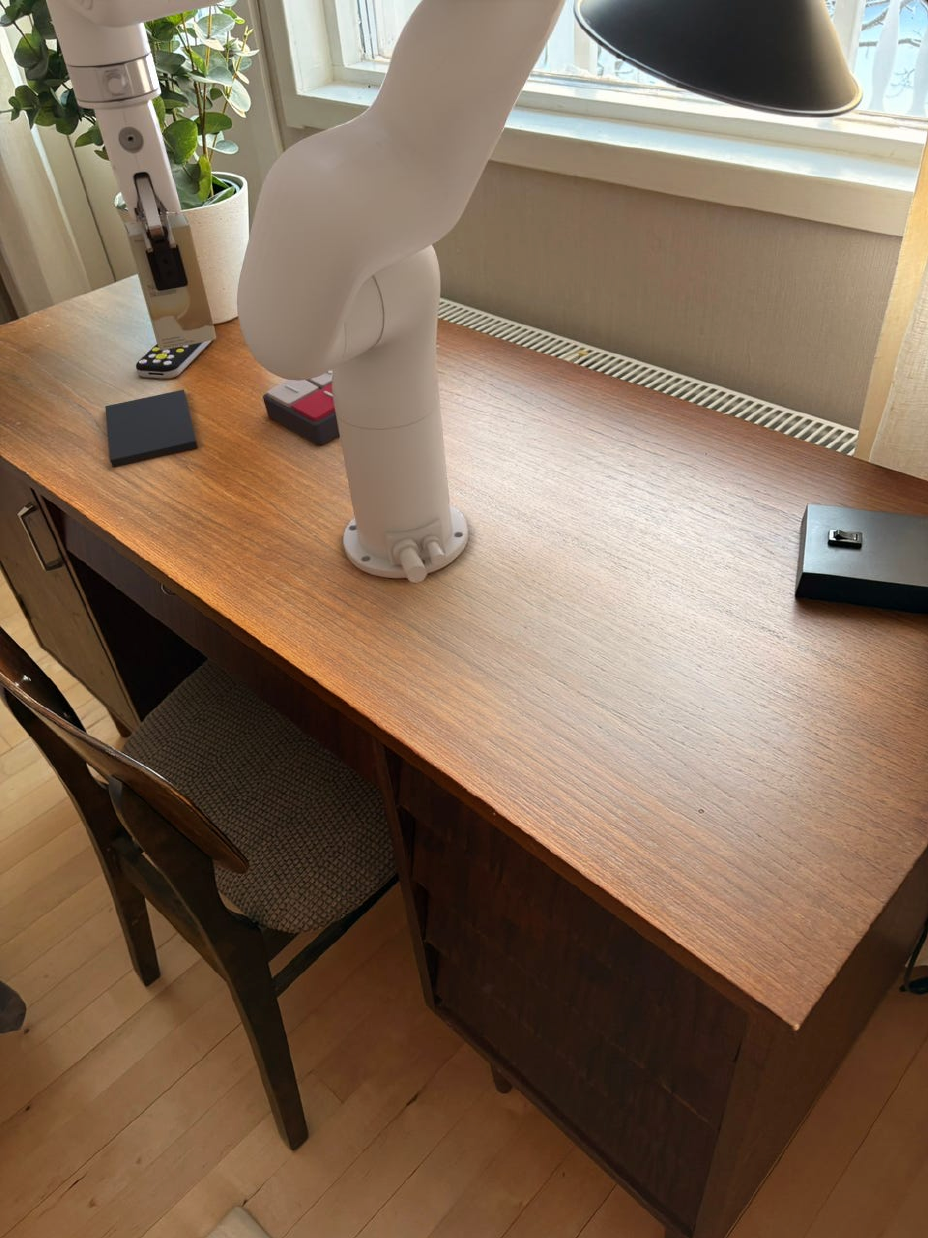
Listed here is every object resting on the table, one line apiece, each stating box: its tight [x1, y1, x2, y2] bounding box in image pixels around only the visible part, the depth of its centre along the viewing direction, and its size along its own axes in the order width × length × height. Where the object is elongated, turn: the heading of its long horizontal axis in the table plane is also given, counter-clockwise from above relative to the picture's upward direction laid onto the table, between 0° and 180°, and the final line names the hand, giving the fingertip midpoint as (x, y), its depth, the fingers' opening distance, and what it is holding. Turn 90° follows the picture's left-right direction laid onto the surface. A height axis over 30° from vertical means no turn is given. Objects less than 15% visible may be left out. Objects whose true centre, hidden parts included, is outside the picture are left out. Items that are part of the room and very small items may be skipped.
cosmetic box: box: [123, 212, 217, 350], centre depth 98 cm, size 6×4×12 cm
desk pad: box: [104, 389, 199, 468], centre depth 116 cm, size 14×10×1 cm
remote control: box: [135, 340, 213, 380], centre depth 131 cm, size 6×13×2 cm, turn 166°
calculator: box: [262, 370, 340, 446], centre depth 116 cm, size 11×4×15 cm
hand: (170, 276), depth 98 cm, fingers closed on cosmetic box, 4 cm apart
